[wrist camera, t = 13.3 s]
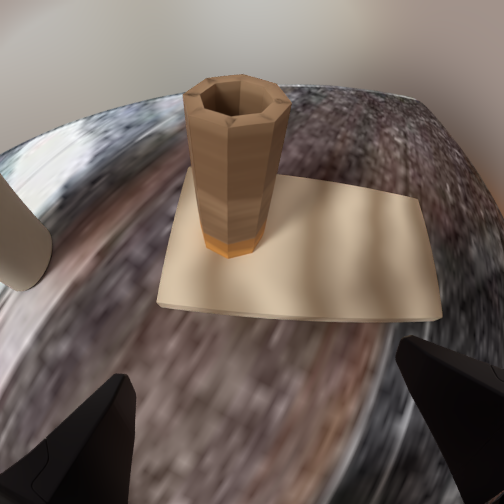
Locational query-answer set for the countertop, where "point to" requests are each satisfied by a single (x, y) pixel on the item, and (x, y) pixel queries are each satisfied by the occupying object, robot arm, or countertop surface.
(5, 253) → the travel mug
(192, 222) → the pin board
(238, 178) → the sleeve
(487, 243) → the countertop surface
